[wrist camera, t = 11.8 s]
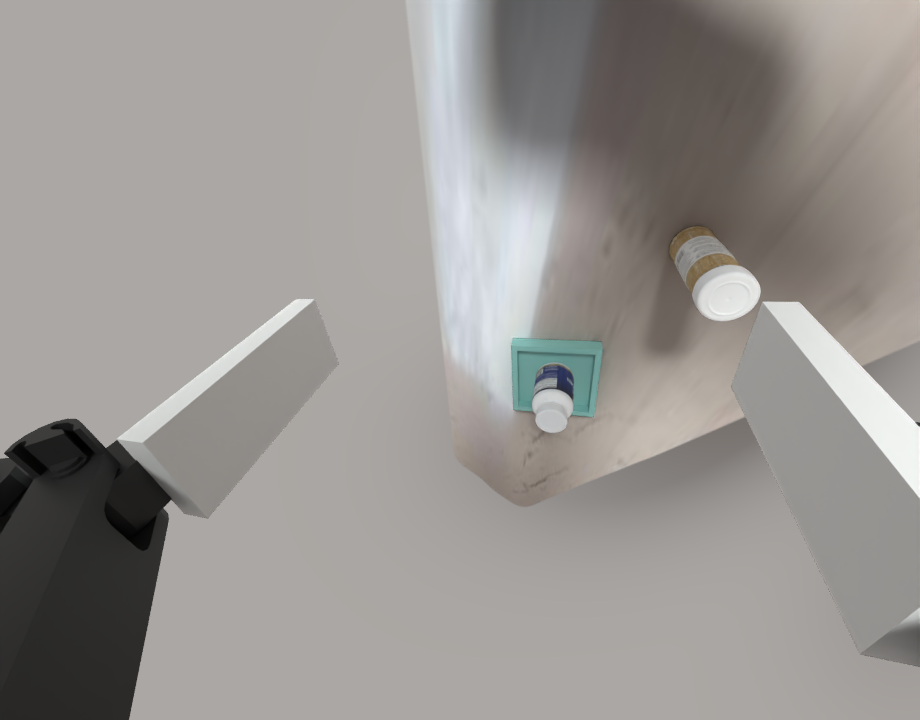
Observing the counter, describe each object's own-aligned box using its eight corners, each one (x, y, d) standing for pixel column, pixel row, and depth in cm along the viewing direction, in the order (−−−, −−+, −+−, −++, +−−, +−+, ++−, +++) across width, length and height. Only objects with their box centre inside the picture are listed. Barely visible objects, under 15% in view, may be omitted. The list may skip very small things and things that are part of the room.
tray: (513, 338, 55) (511, 345, 53) (601, 341, 51) (602, 349, 50) (515, 401, 61) (513, 409, 60) (593, 408, 58) (593, 417, 57)
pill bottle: (579, 385, 56) (579, 433, 48) (544, 393, 58) (538, 440, 50) (566, 356, 53) (564, 402, 46) (530, 366, 56) (523, 410, 48)
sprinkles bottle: (700, 269, 43) (740, 329, 33) (660, 259, 44) (686, 315, 33) (724, 230, 40) (776, 281, 30) (680, 219, 41) (716, 267, 30)
